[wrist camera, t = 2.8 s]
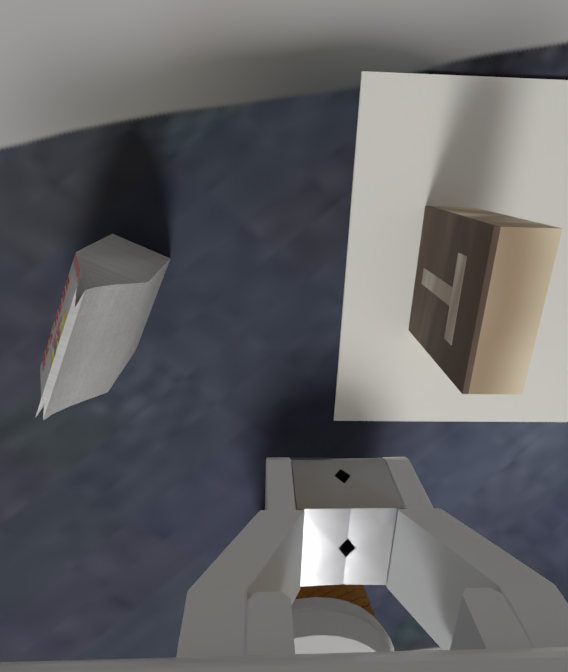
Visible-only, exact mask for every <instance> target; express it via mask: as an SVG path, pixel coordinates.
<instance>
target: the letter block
mask: <svg viewBox="0 0 568 672" xmlns="http://www.w3.org/2000/svg"><path fill="white" fill-rule="evenodd" d="M561 233H562V228H559V227H554V226H550V225H546V224H542V223H538V222H533V221H529V220H525V219H521V218H517V217H512V216H508V215H504V214H500V213H495V212H491V211H487V210H483V209H479V208H474V207H445V206H425V211H424V218H423V225H422V233H421V240H420V247H419V255H418V262H417V270H416V277H415V284H414V292H413V299H412V307H411V314H410V321H409V329H408V330H409V331H410V333H411V334H412V335H413V336H414V337H415V338H416V340H417V341H418V342H419V343H420V344H421V346H422V347H423V348H424V349H425V350H426V352H427V353H428V354H429V355H430V356H431V357H432V359H433V360H434V361H435V362H436V363H437V365H438V366H439V367H440V368H441V369H442V371H443V372H444V373H445V374H446V375H447V376H448V378H449V379H450V380H451V381H452V382H453V384H454V385H455V386H456V387H457V388H458V390H459V391H460V392H461V393H462V394H512V395H522V394H523V390H524V386H525V382H526V377H527V373H528V369H529V365H530V361H531V357H532V353H533V349H534V344H535V340H536V336H537V332H538V328H539V324H540V320H541V315H542V311H543V307H544V303H545V299H546V295H547V291H548V286H549V282H550V278H551V274H552V270H553V266H554V262H555V257H556V253H557V249H558V245H559V241H560V237H561Z"/></svg>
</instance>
